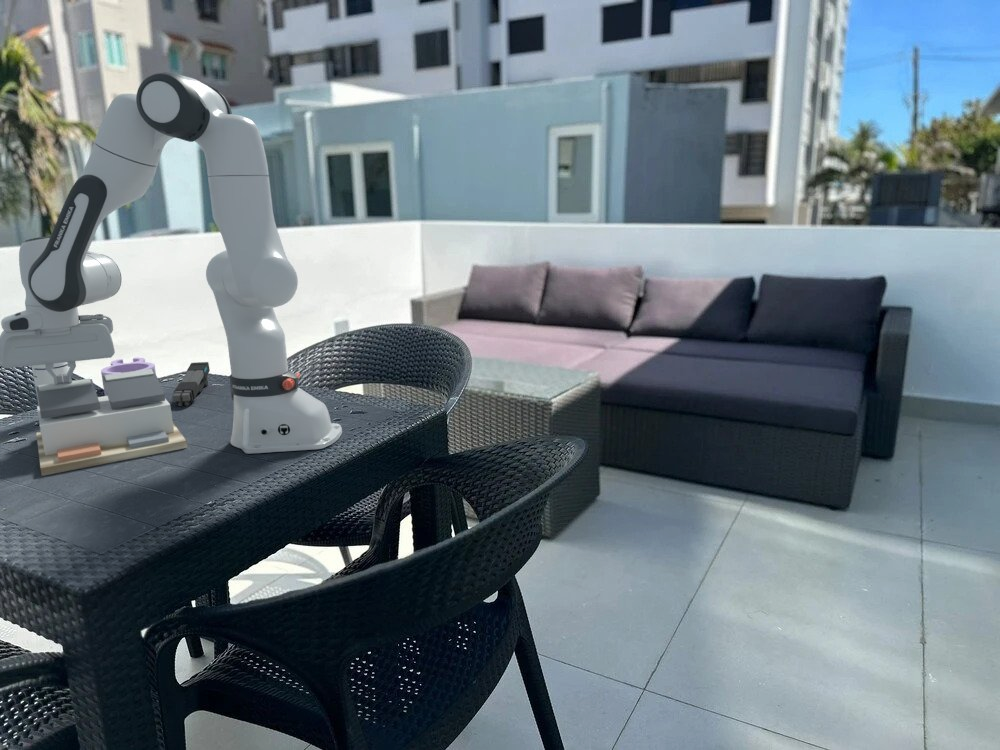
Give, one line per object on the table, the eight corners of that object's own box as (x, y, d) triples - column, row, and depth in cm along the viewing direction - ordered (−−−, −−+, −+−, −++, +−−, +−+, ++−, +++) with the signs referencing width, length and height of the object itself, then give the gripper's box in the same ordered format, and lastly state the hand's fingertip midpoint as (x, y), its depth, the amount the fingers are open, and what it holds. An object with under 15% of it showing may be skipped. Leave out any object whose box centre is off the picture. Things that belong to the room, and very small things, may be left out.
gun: (214, 383, 192) (206, 352, 186) (198, 428, 175) (189, 395, 170) (196, 383, 191) (189, 352, 186) (179, 429, 175) (170, 396, 169)
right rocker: (103, 382, 151) (102, 374, 150) (154, 375, 156) (153, 367, 156) (111, 409, 142) (110, 400, 142) (165, 400, 148) (164, 392, 147)
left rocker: (37, 393, 145) (35, 385, 144) (92, 385, 150) (91, 377, 149) (41, 418, 136) (39, 409, 135) (100, 409, 141) (99, 400, 140)
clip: (105, 385, 193) (102, 361, 191) (156, 379, 198) (152, 355, 196) (104, 403, 175) (100, 376, 174) (159, 396, 181) (155, 370, 179)
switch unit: (37, 439, 149) (30, 399, 147) (165, 417, 163) (160, 381, 161) (41, 475, 129) (33, 430, 127) (187, 447, 143) (181, 406, 140)
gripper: (109, 311, 151) (117, 373, 154) (-7, 319, 140) (4, 386, 143) (112, 315, 146) (121, 379, 149) (-8, 324, 135) (4, 393, 138)
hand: (63, 383), depth 146 cm, fingers closed, pressing on left rocker
